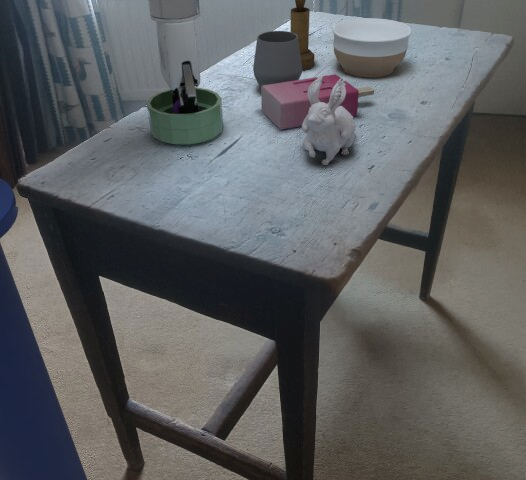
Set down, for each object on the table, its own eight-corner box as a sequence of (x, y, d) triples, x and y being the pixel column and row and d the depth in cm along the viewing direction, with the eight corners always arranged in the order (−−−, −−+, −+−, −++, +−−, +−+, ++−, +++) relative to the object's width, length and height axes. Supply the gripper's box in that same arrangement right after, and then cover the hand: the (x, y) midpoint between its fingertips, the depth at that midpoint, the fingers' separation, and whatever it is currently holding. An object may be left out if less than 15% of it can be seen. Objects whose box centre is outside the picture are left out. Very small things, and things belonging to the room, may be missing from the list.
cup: (294, 79, 120) (294, 27, 113) (307, 96, 113) (309, 41, 106) (248, 84, 118) (247, 31, 112) (259, 101, 111) (258, 46, 105)
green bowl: (158, 152, 95) (154, 119, 92) (146, 123, 104) (141, 92, 101) (231, 141, 98) (229, 109, 95) (212, 113, 107) (210, 83, 103)
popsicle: (385, 85, 103) (280, 103, 98) (382, 112, 106) (280, 130, 101) (360, 69, 110) (261, 85, 104) (358, 94, 113) (261, 111, 107)
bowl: (360, 51, 133) (363, 13, 128) (421, 67, 124) (427, 27, 119) (314, 69, 124) (316, 29, 119) (376, 87, 115) (381, 45, 110)
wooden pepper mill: (290, 72, 123) (292, -24, 112) (278, 63, 128) (278, -31, 116) (319, 67, 125) (323, -28, 113) (306, 58, 130) (309, -34, 118)
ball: (177, 130, 98) (174, 104, 95) (172, 120, 101) (169, 95, 99) (203, 126, 99) (200, 100, 96) (197, 116, 102) (194, 91, 100)
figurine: (288, 166, 91) (289, 84, 83) (320, 128, 101) (323, 52, 93) (338, 175, 88) (344, 91, 80) (365, 135, 99) (373, 58, 91)
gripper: (140, -5, 94) (156, 107, 105) (159, 23, 81) (175, 146, 93) (186, -9, 95) (197, 101, 107) (212, 17, 83) (221, 139, 95)
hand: (186, 121), depth 100 cm, fingers closed on ball, 4 cm apart
